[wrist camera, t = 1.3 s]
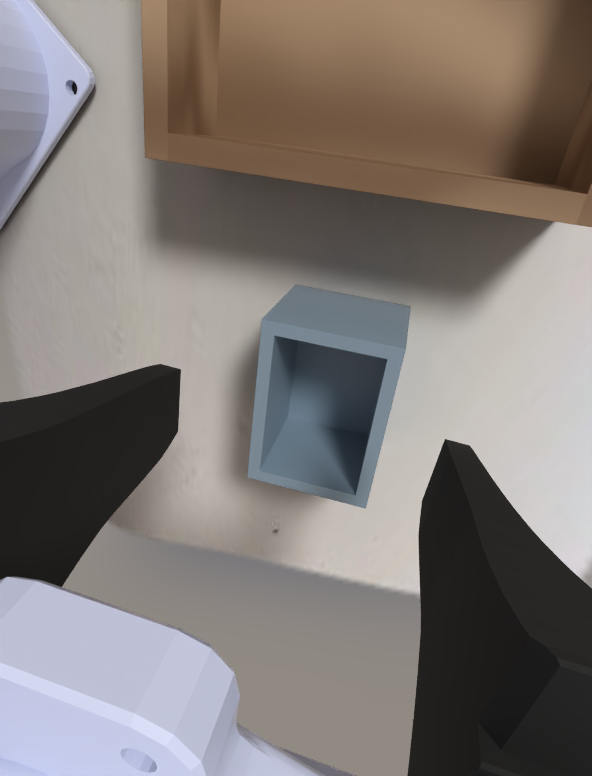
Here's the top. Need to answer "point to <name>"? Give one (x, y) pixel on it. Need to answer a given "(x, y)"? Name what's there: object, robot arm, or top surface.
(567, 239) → the top surface
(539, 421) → the top surface
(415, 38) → the big crate
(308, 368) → the small crate
